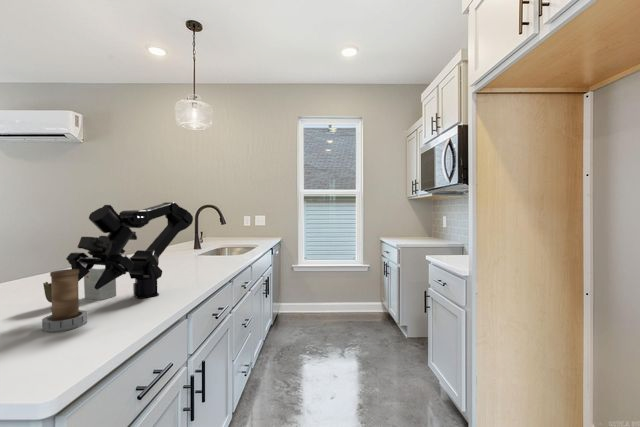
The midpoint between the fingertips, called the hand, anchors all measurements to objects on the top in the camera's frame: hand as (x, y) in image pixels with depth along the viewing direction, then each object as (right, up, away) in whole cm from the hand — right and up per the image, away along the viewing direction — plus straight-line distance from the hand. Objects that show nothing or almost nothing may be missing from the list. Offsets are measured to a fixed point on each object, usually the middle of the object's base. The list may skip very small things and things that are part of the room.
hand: (81, 287), depth 85 cm
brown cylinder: (-1, -8, -4) cm, 9 cm away
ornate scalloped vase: (-15, -9, +11) cm, 21 cm away
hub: (-1, -9, -4) cm, 10 cm away
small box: (-10, -9, +21) cm, 25 cm away
